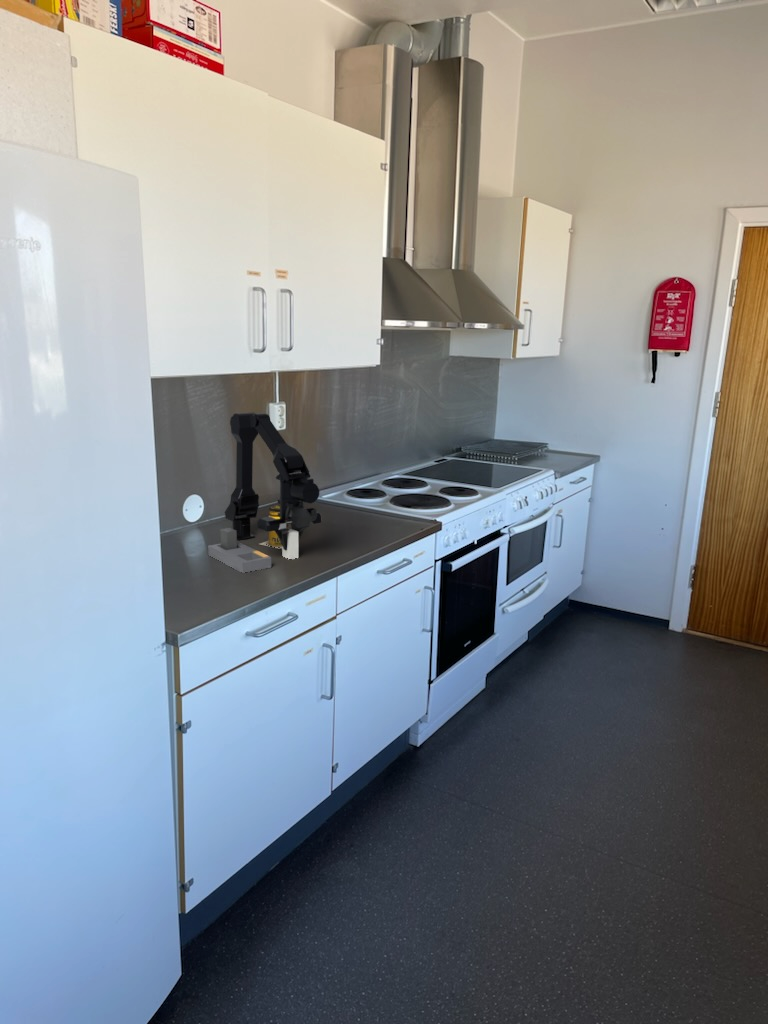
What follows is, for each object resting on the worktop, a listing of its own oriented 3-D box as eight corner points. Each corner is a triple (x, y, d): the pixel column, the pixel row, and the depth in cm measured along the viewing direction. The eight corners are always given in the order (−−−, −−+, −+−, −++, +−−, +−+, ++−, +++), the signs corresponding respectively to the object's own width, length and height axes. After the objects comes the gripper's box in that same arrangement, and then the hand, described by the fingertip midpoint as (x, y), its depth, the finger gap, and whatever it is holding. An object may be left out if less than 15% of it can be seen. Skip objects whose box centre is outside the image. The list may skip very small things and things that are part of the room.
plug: (282, 556, 217) (282, 530, 216) (290, 554, 219) (290, 528, 217) (289, 559, 214) (289, 533, 213) (298, 558, 216) (298, 531, 214)
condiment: (280, 549, 225) (280, 510, 222) (258, 544, 229) (257, 506, 226) (294, 543, 231) (294, 506, 228) (272, 539, 235) (272, 502, 232)
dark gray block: (221, 555, 217) (220, 529, 215) (230, 553, 219) (229, 527, 217) (227, 558, 214) (227, 532, 212) (237, 557, 216) (236, 530, 214)
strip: (208, 555, 216) (208, 544, 216) (236, 550, 222) (235, 540, 221) (242, 573, 202) (242, 562, 201) (271, 567, 207) (271, 556, 206)
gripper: (277, 506, 201) (277, 561, 205) (333, 498, 212) (332, 550, 216) (256, 498, 209) (256, 551, 213) (310, 491, 221) (310, 541, 224)
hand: (290, 548), depth 216 cm, fingers closed on plug, 3 cm apart
